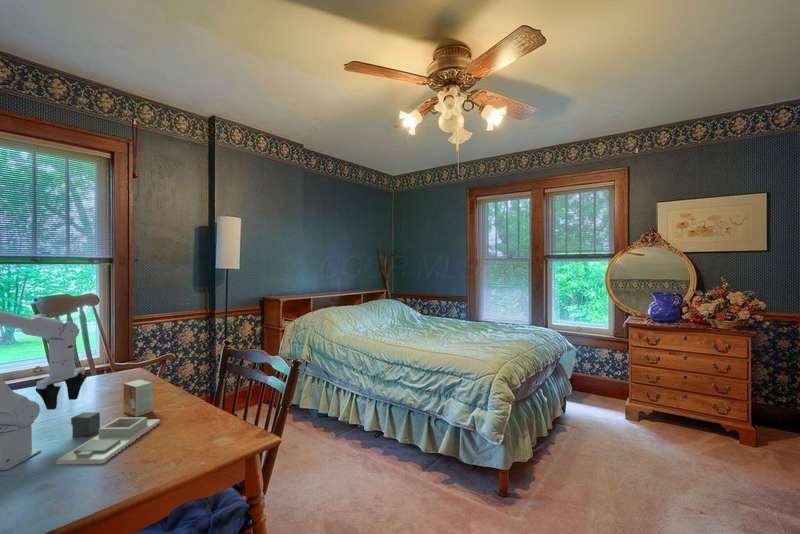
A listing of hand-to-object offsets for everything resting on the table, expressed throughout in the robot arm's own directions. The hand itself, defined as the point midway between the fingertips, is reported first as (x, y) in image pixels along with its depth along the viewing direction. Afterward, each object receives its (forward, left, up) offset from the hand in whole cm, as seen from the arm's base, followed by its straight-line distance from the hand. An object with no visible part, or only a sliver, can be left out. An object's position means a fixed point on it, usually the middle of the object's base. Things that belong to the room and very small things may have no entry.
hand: (62, 404), depth 112 cm
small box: (+16, -12, -10) cm, 22 cm away
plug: (0, -7, -10) cm, 12 cm away
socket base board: (-5, -19, -9) cm, 22 cm away
